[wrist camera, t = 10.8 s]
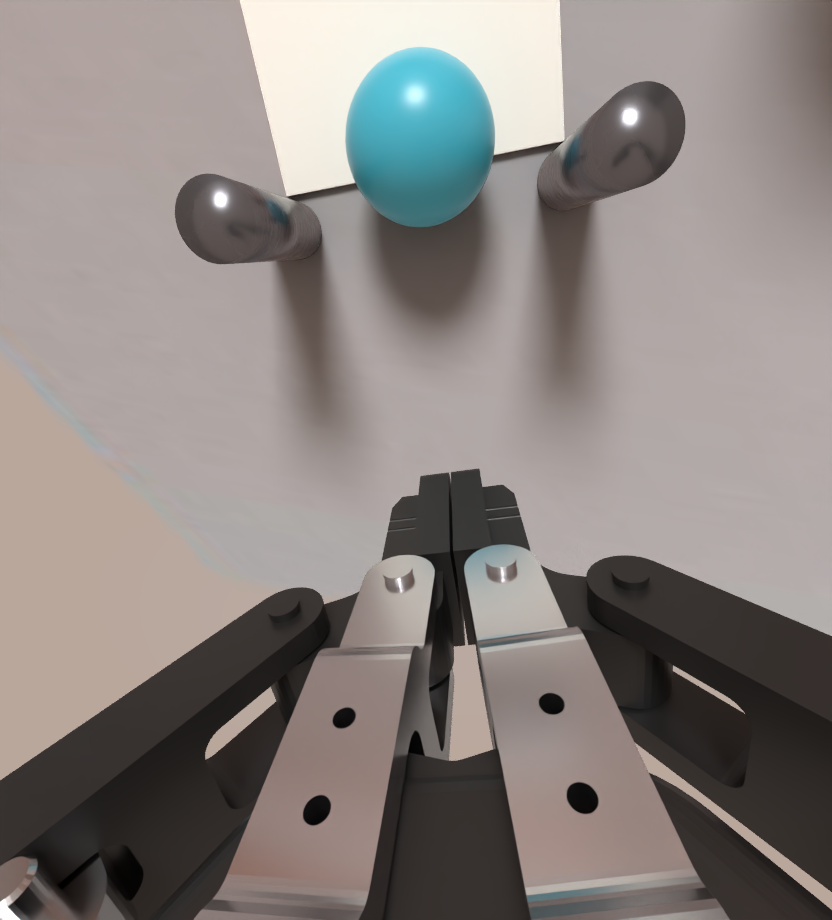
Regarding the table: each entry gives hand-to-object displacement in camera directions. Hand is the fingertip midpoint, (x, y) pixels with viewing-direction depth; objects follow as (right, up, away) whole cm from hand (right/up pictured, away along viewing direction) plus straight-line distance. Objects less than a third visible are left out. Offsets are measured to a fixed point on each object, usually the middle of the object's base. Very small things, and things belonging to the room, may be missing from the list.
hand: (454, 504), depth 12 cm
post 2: (+6, +14, +10) cm, 18 cm away
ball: (-1, +14, +7) cm, 16 cm away
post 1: (-7, +12, +11) cm, 18 cm away
